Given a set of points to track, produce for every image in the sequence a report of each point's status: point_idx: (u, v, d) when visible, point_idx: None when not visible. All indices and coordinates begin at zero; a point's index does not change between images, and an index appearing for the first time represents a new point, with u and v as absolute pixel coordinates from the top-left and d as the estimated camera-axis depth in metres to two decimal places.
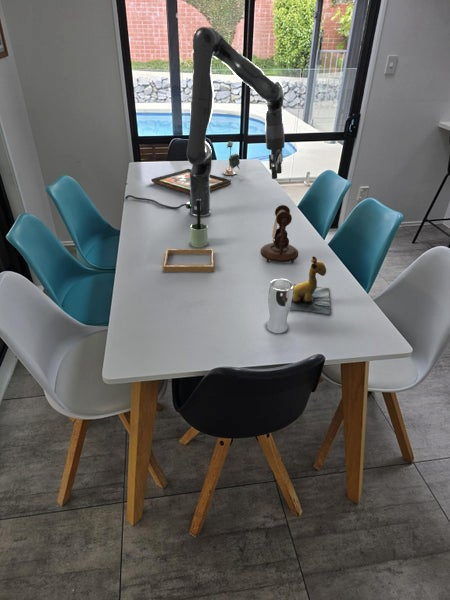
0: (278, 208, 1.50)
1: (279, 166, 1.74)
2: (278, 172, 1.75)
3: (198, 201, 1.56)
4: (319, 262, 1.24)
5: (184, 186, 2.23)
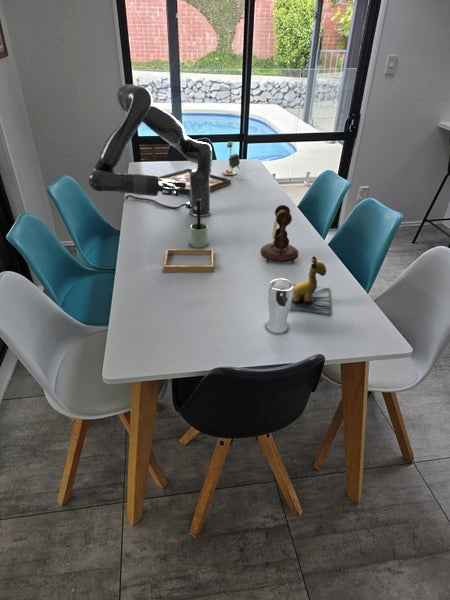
0: (278, 208, 1.50)
1: None
2: None
3: (198, 201, 1.56)
4: (319, 262, 1.24)
5: None
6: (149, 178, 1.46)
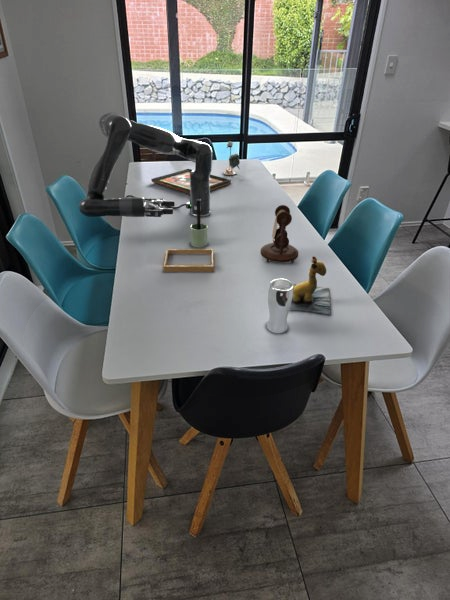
0: (278, 208, 1.50)
1: None
2: None
3: (198, 201, 1.56)
4: (319, 262, 1.24)
5: (184, 186, 2.23)
6: (134, 201, 1.54)
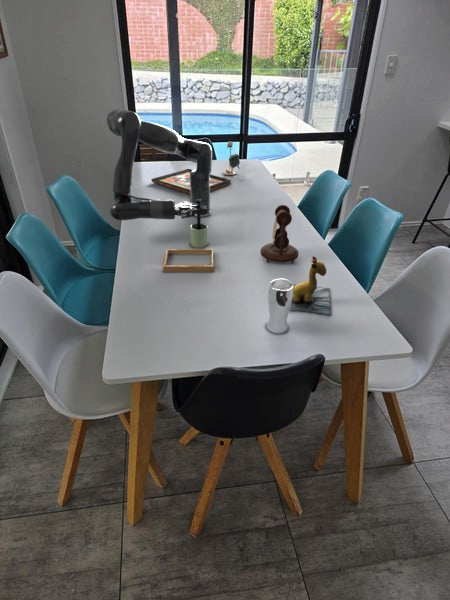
0: (278, 208, 1.50)
1: None
2: None
3: (198, 201, 1.56)
4: (319, 262, 1.24)
5: (184, 186, 2.23)
6: (164, 204, 1.55)
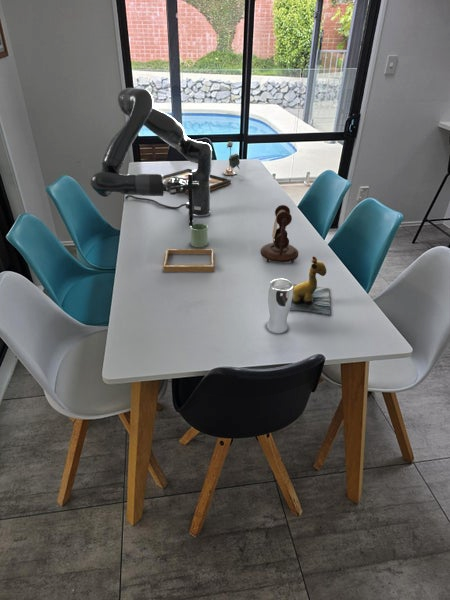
0: (278, 208, 1.50)
1: None
2: None
3: (190, 175, 1.39)
4: (319, 262, 1.24)
5: None
6: (152, 178, 1.38)
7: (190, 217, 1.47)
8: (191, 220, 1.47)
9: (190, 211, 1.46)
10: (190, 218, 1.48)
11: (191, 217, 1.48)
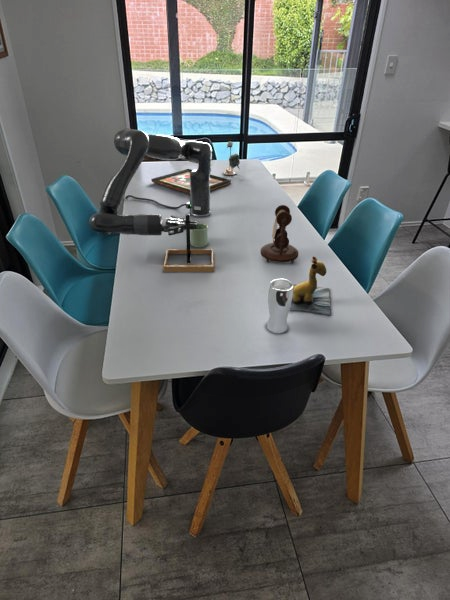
0: (278, 208, 1.50)
1: None
2: None
3: (187, 216, 1.41)
4: (319, 262, 1.24)
5: (184, 186, 2.23)
6: (150, 219, 1.40)
7: (188, 254, 1.50)
8: (189, 258, 1.49)
9: (188, 249, 1.48)
10: (188, 255, 1.50)
11: (189, 254, 1.50)
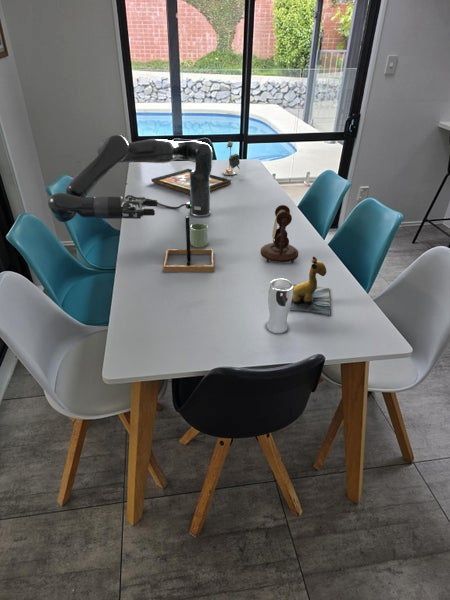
0: (278, 208, 1.50)
1: None
2: None
3: (187, 218, 1.42)
4: (319, 262, 1.24)
5: (184, 186, 2.23)
6: (110, 201, 1.36)
7: (188, 257, 1.50)
8: (189, 260, 1.50)
9: (188, 251, 1.49)
10: (188, 258, 1.50)
11: (189, 257, 1.50)
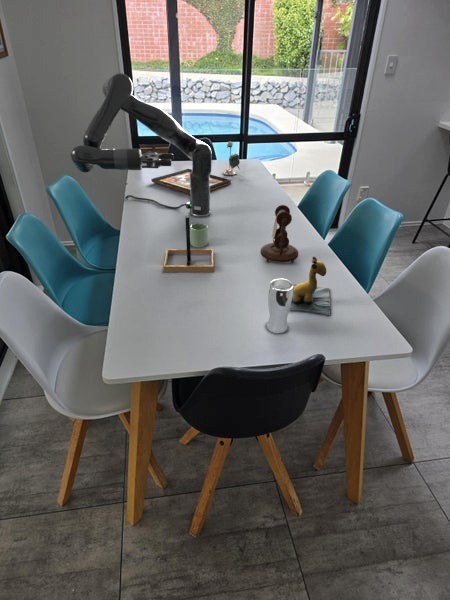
0: (278, 208, 1.50)
1: None
2: None
3: (187, 218, 1.42)
4: (319, 262, 1.24)
5: (184, 186, 2.23)
6: (129, 152, 1.43)
7: (188, 257, 1.50)
8: (189, 260, 1.50)
9: (188, 251, 1.49)
10: (188, 258, 1.50)
11: (189, 257, 1.50)
